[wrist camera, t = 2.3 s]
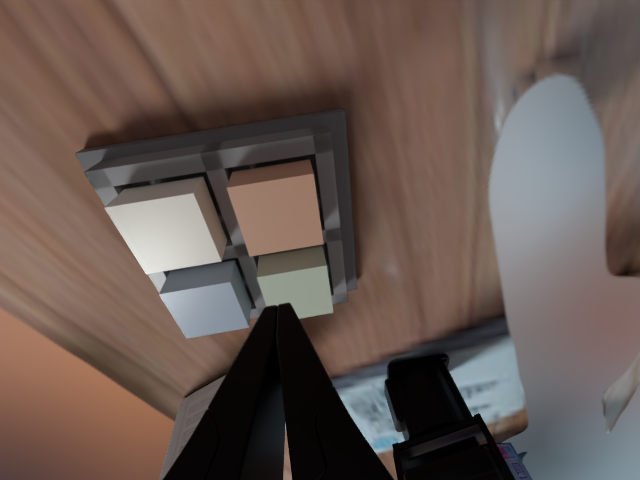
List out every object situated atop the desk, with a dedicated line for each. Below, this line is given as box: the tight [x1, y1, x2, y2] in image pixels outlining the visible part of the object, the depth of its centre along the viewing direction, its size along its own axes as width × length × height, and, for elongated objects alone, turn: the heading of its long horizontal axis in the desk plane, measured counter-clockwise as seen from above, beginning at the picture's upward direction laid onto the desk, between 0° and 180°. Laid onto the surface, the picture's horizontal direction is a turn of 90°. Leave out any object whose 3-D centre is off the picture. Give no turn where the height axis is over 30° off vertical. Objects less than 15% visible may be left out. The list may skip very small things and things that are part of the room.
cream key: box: [105, 177, 227, 274], centre depth 15 cm, size 4×4×2 cm
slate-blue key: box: [159, 260, 251, 338], centre depth 18 cm, size 4×4×2 cm
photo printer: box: [159, 375, 226, 480], centre depth 24 cm, size 10×4×12 cm, turn 126°
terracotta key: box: [227, 159, 324, 257], centre depth 15 cm, size 4×4×2 cm
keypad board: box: [75, 108, 357, 319], centre depth 18 cm, size 14×13×2 cm
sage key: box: [257, 245, 333, 319], centre depth 18 cm, size 4×4×2 cm
